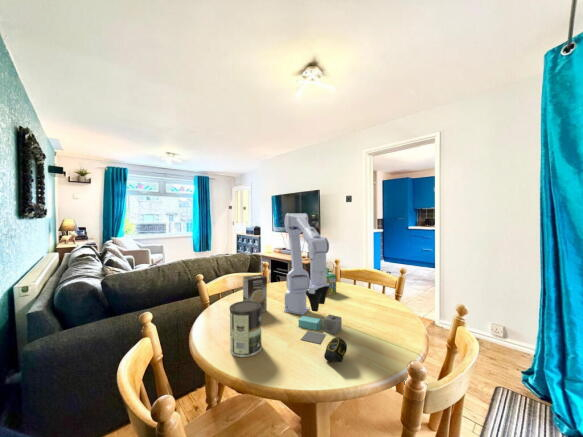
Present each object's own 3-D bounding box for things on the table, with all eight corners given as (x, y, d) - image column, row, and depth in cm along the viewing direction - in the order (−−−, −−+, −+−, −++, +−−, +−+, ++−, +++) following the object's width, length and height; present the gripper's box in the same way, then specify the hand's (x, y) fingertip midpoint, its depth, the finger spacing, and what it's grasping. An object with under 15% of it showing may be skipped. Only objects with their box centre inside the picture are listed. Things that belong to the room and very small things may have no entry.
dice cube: (336, 335, 89) (336, 322, 88) (323, 332, 91) (323, 318, 91) (341, 330, 93) (341, 317, 93) (329, 327, 95) (329, 314, 95)
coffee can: (259, 338, 87) (258, 299, 87) (264, 354, 77) (264, 309, 77) (229, 343, 84) (228, 302, 84) (230, 360, 74) (230, 313, 74)
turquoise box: (298, 327, 95) (298, 319, 95) (302, 322, 99) (302, 315, 99) (318, 331, 92) (318, 323, 92) (321, 326, 96) (321, 318, 96)
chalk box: (313, 293, 136) (313, 267, 136) (326, 291, 141) (326, 265, 140) (323, 298, 128) (323, 270, 128) (337, 295, 133) (336, 268, 132)
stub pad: (300, 340, 85) (300, 339, 85) (307, 331, 92) (307, 330, 92) (320, 344, 82) (320, 343, 82) (325, 335, 89) (325, 334, 89)
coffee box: (248, 316, 105) (248, 279, 105) (242, 312, 111) (242, 276, 111) (267, 312, 111) (267, 276, 110) (260, 307, 116) (260, 273, 116)
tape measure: (329, 364, 73) (320, 356, 73) (339, 343, 77) (331, 335, 77) (343, 366, 68) (333, 357, 68) (352, 343, 72) (343, 335, 72)
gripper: (322, 276, 82) (322, 316, 82) (334, 267, 95) (334, 302, 95) (303, 274, 85) (303, 313, 85) (316, 266, 98) (316, 299, 98)
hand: (318, 307), depth 90 cm, fingers open, 7 cm apart
